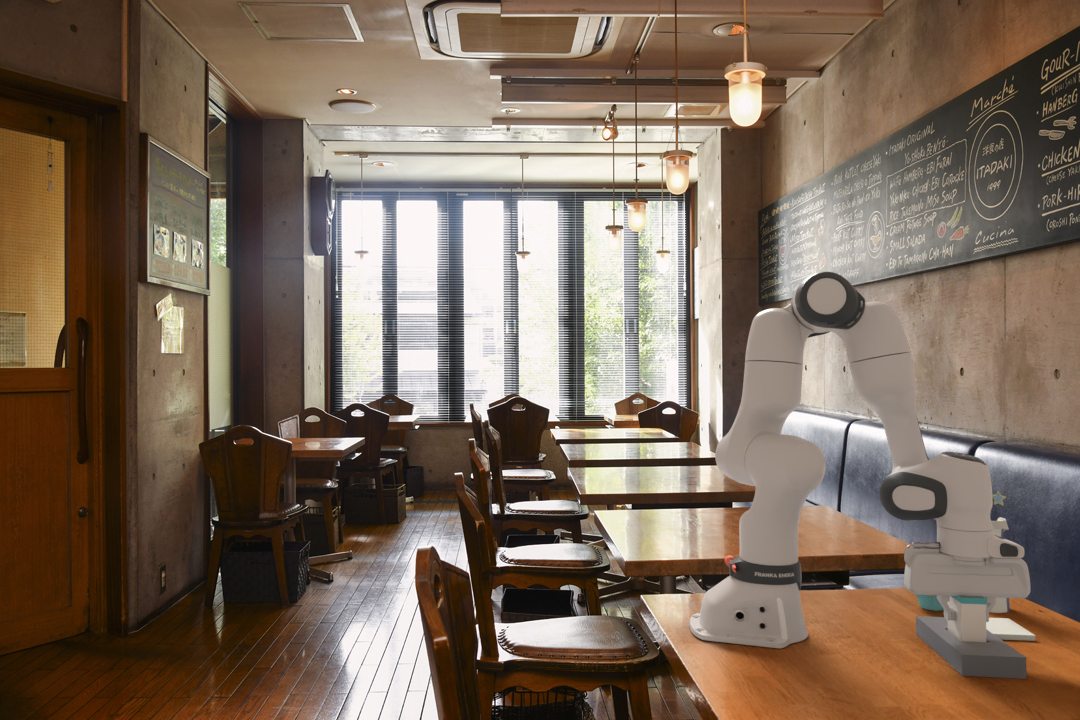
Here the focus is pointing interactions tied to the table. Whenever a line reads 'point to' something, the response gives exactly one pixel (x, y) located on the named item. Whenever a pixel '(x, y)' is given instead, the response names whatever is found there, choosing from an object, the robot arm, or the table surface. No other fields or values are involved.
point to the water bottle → (998, 529)
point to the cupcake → (929, 602)
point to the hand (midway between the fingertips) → (966, 620)
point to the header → (971, 651)
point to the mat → (1008, 630)
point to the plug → (968, 618)
